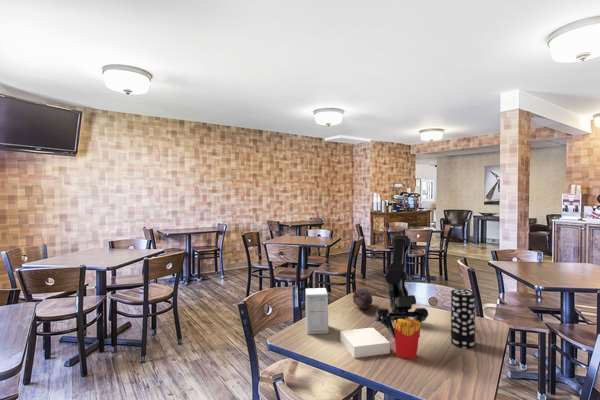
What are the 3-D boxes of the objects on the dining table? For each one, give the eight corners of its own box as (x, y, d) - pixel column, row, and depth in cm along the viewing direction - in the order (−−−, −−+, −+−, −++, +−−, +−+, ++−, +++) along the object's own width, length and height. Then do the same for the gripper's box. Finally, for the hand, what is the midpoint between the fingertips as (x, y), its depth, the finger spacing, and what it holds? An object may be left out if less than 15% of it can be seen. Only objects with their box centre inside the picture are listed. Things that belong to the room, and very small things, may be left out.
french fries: (394, 357, 117) (395, 321, 117) (392, 351, 121) (393, 317, 121) (421, 359, 116) (422, 322, 116) (418, 353, 120) (418, 317, 120)
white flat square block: (372, 337, 134) (372, 327, 134) (389, 353, 121) (389, 342, 120) (340, 340, 131) (340, 331, 131) (354, 357, 117) (354, 346, 117)
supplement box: (326, 325, 147) (326, 287, 147) (329, 333, 138) (328, 293, 137) (305, 325, 147) (305, 287, 146) (306, 334, 138) (305, 294, 137)
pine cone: (371, 315, 158) (371, 294, 158) (350, 313, 160) (350, 293, 160) (373, 303, 175) (373, 285, 175) (354, 302, 178) (354, 283, 177)
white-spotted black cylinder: (472, 340, 130) (473, 290, 130) (476, 350, 122) (476, 296, 122) (449, 337, 133) (449, 288, 133) (452, 347, 125) (452, 294, 125)
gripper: (377, 287, 123) (385, 328, 112) (426, 286, 123) (439, 327, 113) (372, 301, 131) (379, 341, 120) (418, 301, 131) (429, 340, 121)
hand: (406, 337), depth 118 cm, fingers closed on french fries, 8 cm apart
